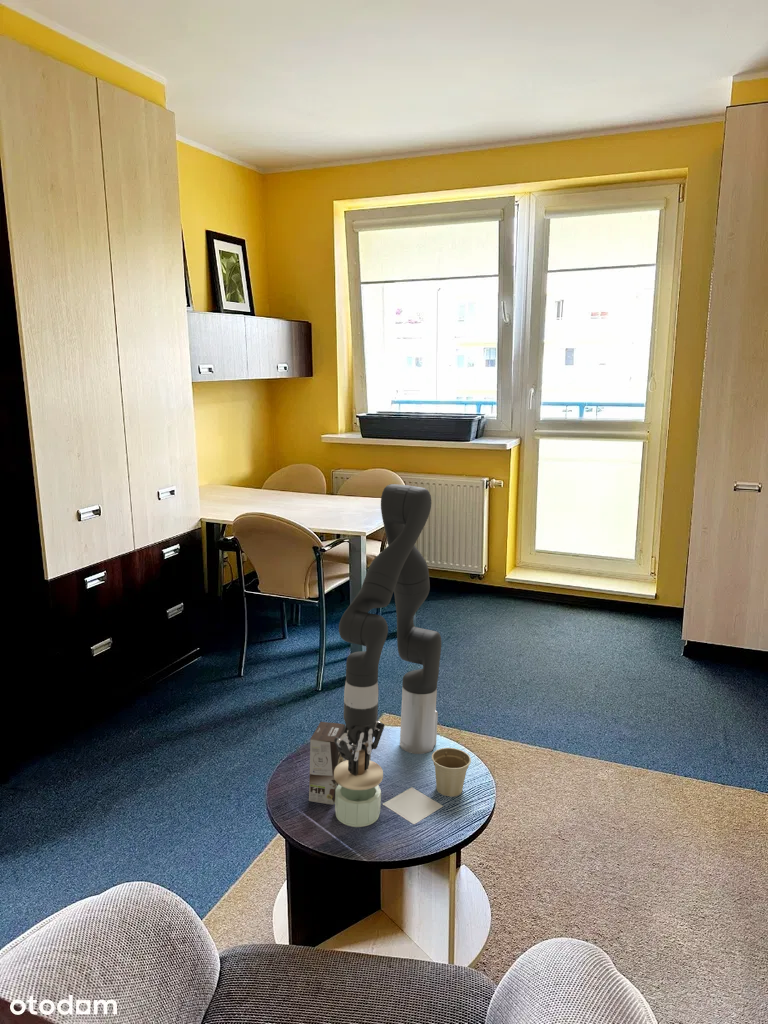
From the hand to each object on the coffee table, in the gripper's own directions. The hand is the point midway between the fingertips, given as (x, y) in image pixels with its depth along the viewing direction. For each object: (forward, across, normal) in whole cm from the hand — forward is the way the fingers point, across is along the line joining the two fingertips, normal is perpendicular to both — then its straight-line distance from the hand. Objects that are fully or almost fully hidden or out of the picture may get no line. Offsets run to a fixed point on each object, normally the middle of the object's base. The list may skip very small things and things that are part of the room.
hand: (358, 770), depth 156 cm
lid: (+1, 0, 0) cm, 1 cm away
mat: (+11, +12, -6) cm, 17 cm away
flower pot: (+11, +23, -8) cm, 27 cm away
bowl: (+11, 0, 0) cm, 11 cm away
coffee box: (+11, 0, +11) cm, 16 cm away
